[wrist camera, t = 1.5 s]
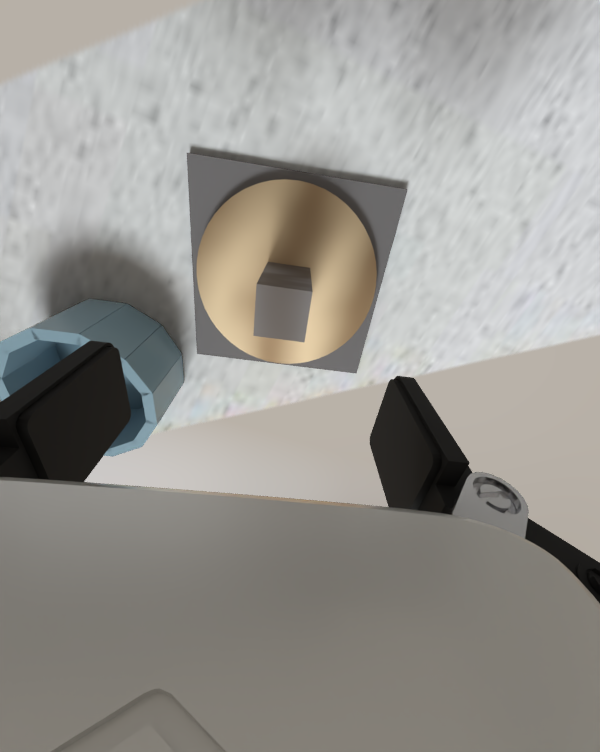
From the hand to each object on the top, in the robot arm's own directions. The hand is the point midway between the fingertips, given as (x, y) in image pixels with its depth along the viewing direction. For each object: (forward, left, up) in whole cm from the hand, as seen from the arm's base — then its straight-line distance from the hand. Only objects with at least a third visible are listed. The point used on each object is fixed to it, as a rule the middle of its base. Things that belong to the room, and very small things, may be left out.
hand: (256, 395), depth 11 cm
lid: (0, 0, -14) cm, 14 cm away
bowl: (+14, +9, -15) cm, 22 cm away
